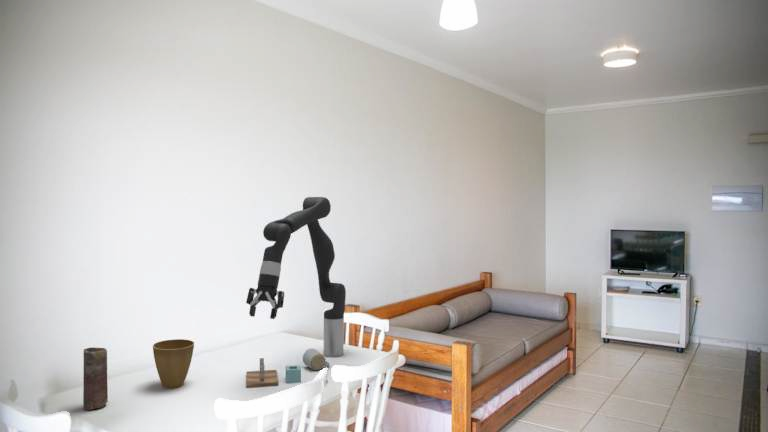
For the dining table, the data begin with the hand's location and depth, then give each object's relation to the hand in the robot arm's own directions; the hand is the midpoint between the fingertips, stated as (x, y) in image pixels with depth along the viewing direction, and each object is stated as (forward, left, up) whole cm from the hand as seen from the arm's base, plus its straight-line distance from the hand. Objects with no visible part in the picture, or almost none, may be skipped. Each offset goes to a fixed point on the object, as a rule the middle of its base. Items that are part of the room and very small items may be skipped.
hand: (262, 317), depth 201 cm
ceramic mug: (-24, +24, -28) cm, 44 cm away
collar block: (-10, +12, -28) cm, 32 cm away
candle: (+3, -56, -28) cm, 62 cm away
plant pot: (-14, -33, -28) cm, 45 cm away
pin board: (-13, 0, -28) cm, 30 cm away
